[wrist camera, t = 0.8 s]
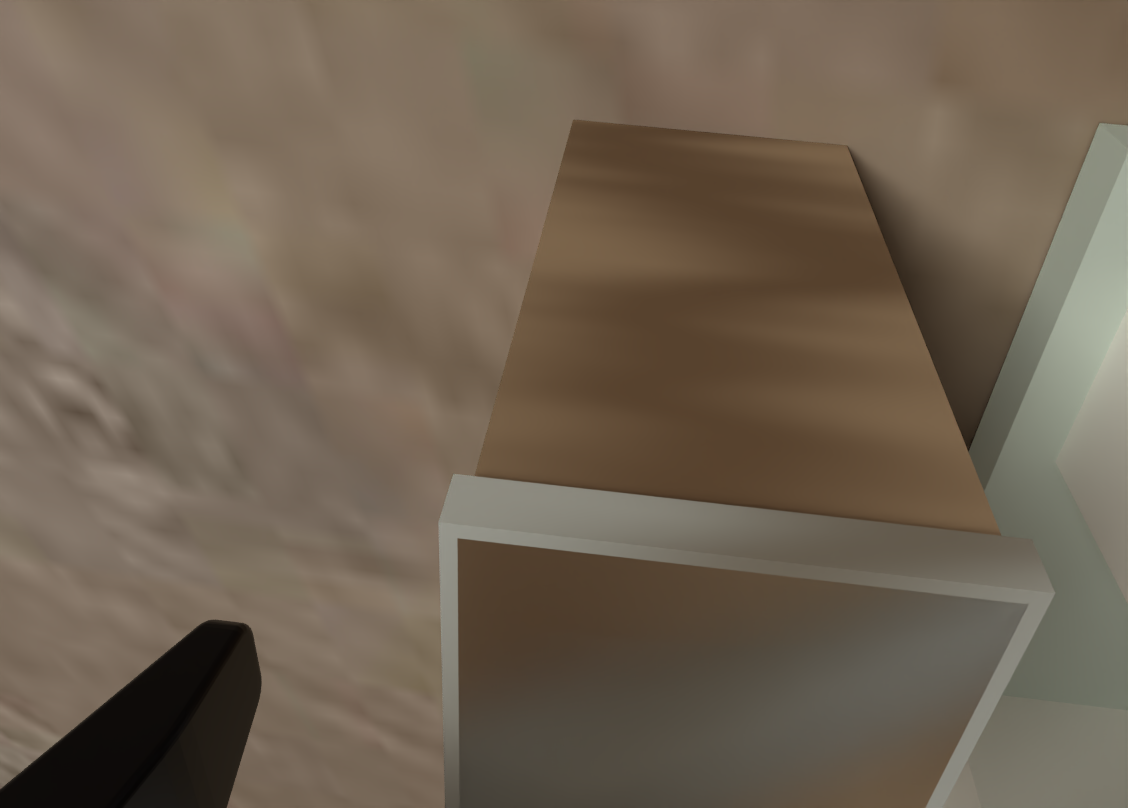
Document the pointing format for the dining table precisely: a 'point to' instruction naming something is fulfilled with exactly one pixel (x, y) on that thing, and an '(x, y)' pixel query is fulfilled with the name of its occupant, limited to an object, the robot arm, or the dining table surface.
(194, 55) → the dining table surface
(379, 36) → the dining table surface
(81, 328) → the dining table surface
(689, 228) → the peg
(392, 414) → the dining table surface
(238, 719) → the robot arm
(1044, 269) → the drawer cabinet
